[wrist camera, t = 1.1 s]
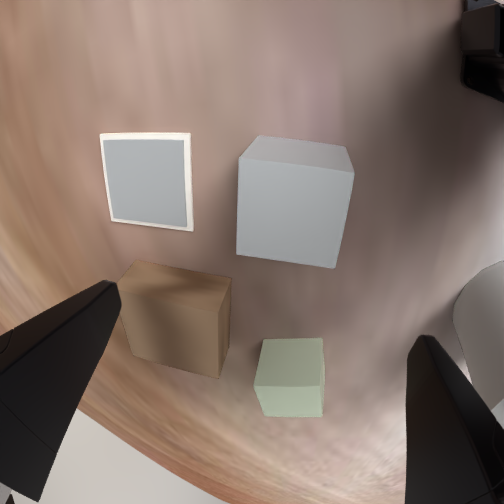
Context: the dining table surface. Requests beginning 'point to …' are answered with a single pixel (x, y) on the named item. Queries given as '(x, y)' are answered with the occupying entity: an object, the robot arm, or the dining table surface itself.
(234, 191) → the dining table surface
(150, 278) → the walnut base
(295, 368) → the sage cube
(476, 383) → the cup
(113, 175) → the tile
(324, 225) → the grey cube
